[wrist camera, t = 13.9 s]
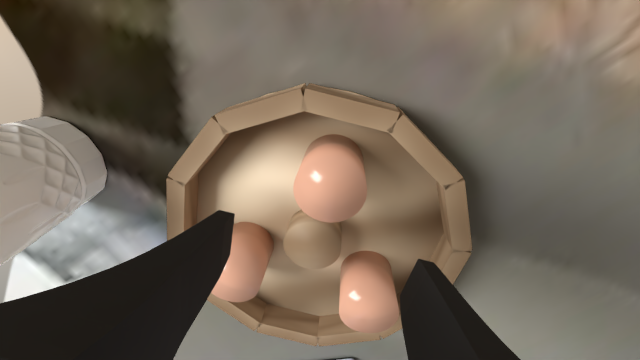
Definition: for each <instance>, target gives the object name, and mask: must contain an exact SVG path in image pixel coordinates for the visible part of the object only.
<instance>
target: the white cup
mask: <svg viewBox="0 0 640 360" xmlns="http://www.w3.org/2000/svg"><path fill="white" fill-rule="evenodd" d="M106 177H107V170H106V166H105V163H104V160H103V157H102V154H101V153H100V151H99V150H98V149H97V147H96V146H95V145H94V143H93V142H92V141H91V140H90V138H89V137H88V136H87V135H85V134H84V133H83V132H81V131H80V130H78V129H77V128H76V127H74V126H73V125H71V124H70V123H68V122H65V121H61V120H58V119H55V118H51V117H48V116H45V117H39V118H34V119H29V120H23V121H19V122H14V123H6V124H0V266H1V265H3V264H4V263H5V262H7V261H8V260H10V259H11V258H13V257H14V256H15V255H17V254H18V253H20V252H21V251H23V250H24V249H25V248H27V247H28V246H30V245H31V244H33V243H34V242H36V241H37V240H38V239H39V238H40V237H41V236H43V235H44V234H46V233H47V232H49V231H50V230H52V229H53V228H54V227H56V226H57V225H58V224H59V223H60V222H62V221H63V220H65V219H66V218H68V217H69V216H71V215H72V214H73V213H74V211H75V210H76V209H78V208H79V207H81V206H82V205H83V204H85V203H86V202H88V201H89V200H91V199H92V198H93V197H95V196H96V195H97V194H98V193H99V192H100V191H102V190H103V189H104V187H105V182H106Z"/></svg>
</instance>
